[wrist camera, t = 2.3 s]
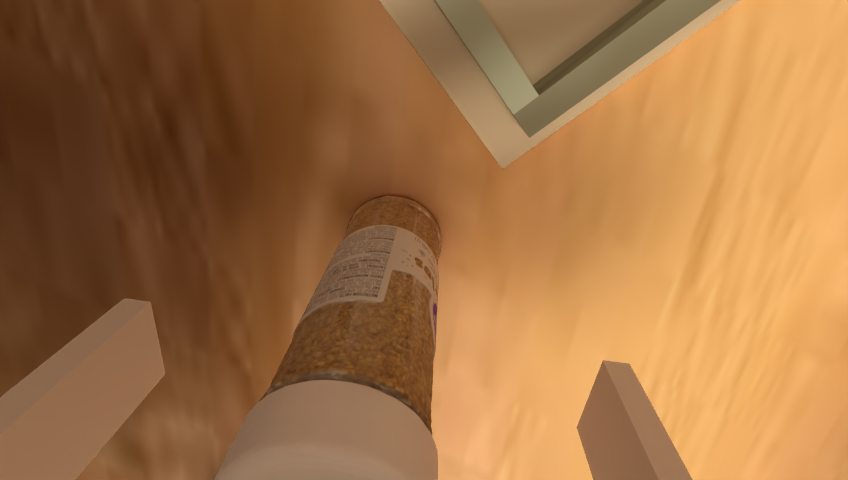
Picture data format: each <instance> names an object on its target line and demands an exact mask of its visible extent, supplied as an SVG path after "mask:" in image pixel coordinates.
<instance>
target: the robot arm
mask: <svg viewBox="0 0 848 480" xmlns="http://www.w3.org/2000/svg"><path fill="white" fill-rule="evenodd" d="M164 375H165V369H164V364H163V359H162V354H161V350H160V345H159V340H158V335H157V330H156V325H155V320H154V316H153V311H152V306H151V302H149V301H142V300H134V299H126V298H124V299H123V300H122V301H120V302H119V303H118V304H117V305H115V306H114V307H113V308H112V309H110V310H109V311H108V312H106V313H105V314H104V315H103V316H101V317H100V318H99V319H98V320H96V321H95V322H94V323H93V324H91V325H90V326H89V327H88V328H86V329H85V330H84V331H83V332H81V333H80V334H79V335H78V336H76V337H75V338H74V339H73V340H71V341H70V342H69V343H68V344H66V345H65V346H64V347H63V348H61V349H60V350H59V351H58V352H56V353H55V354H54V355H53V356H51V357H50V358H49V359H48V360H46V361H45V362H44V363H43V364H41V365H40V366H39V367H38V368H36V369H35V370H34V371H33V372H31V373H30V374H29V375H28V376H26V377H25V378H24V379H23V380H21V381H20V382H19V383H18V384H16V385H15V386H14V387H13V388H11V389H10V390H9V391H8V392H6V393H5V394H4V395H2V396H1V397H0V480H76V478H77V477H78V476H79V475H80V474H81V472H82V471H83V470H84V469H85V468H86V467H87V465H88V464H89V463H90V462H91V461H92V460H93V458H94V457H95V456H96V455H97V454H98V452H99V451H100V450H101V449H102V448H103V447H104V445H105V444H106V443H107V442H108V441H109V440H110V438H111V437H112V436H113V435H114V434H115V432H116V431H117V430H118V429H119V428H120V427H121V425H122V424H123V423H124V422H125V421H126V420H127V418H128V417H129V416H130V415H131V414H132V412H133V411H134V410H135V409H136V408H137V407H138V405H139V404H140V403H141V402H142V401H143V400H144V398H145V397H146V396H147V395H148V394H149V392H150V391H151V390H152V389H153V388H154V387H155V385H156V384H157V383H158V382H159V381H160V380H161V378H162V377H163V376H164ZM577 429H578V433H579V436H580V439H581V442H582V445H583V448H584V451H585V454H586V458H587V461H588V464H589V467H590V470H591V473H592V476H593V479H594V480H692V478H691V476H690V474H689V472H688V471H687V469H686V467H685V465H684V463H683V461H682V460H681V458H680V456H679V454H678V452H677V450H676V448H675V447H674V445H673V443H672V441H671V439H670V437H669V436H668V434H667V432H666V430H665V428H664V426H663V425H662V423H661V421H660V419H659V417H658V415H657V414H656V412H655V410H654V408H653V406H652V404H651V402H650V401H649V399H648V397H647V395H646V393H645V391H644V390H643V388H642V386H641V384H640V382H639V380H638V379H637V377H636V375H635V373H634V371H633V369H632V368H631V366H630V364H627V363H619V362H611V361H604V360H603V362H602V364H601V367H600V369H599V372H598V375H597V377H596V380H595V382H594V385H593V387H592V390H591V392H590V395H589V398H588V400H587V403H586V405H585V408H584V410H583V413H582V416H581V418H580V421H579V423H578V426H577Z"/></svg>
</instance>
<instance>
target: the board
mask: <svg viewBox="0 0 848 480" xmlns="http://www.w3.org/2000/svg"><path fill="white" fill-rule="evenodd" d="M379 1H380V3H381V4H382V5H383V7H384V8H385V9H386V11H387V12H388V14H389V15H390V16H391V18H392V19H393V20H394V22H395V23H396V24H397V26H398V27H399V29H400V30H401V31H402V33H403V34H404V35H405V37H406V38H407V39H408V41H409V42H410V44H411V45H412V46H413V48H414V49H415V50H416V52H417V53H418V55H419V56H420V57H421V59H422V60H423V61H424V63H425V64H426V65H427V67H428V68H429V70H430V71H431V72H432V74H433V75H434V76H435V78H436V79H437V80H438V82H439V83H440V85H441V86H442V87H443V89H444V90H445V91H446V93H447V94H448V96H449V97H450V98H451V100H452V101H453V102H454V104H455V105H456V106H457V108H458V109H459V111H460V112H461V113H462V115H463V116H464V117H465V119H466V120H467V121H468V123H469V124H470V126H471V127H472V128H473V130H474V131H475V132H476V134H477V135H478V137H479V138H480V139H481V141H482V142H483V143H484V145H485V146H486V147H487V149H488V150H489V152H490V153H491V154H492V156H493V157H494V158H495V160H496V161H497V162H498V164H499V165H500V167H501V168H502V169H503V168H505V167H506V166H508V165H509V164H510V163H512V162H513V161H515V160H516V159H517V158H519V157H520V156H522V155H523V154H525V153H526V152H527V151H529V150H530V149H532V148H533V147H534V146H536V145H537V144H539V143H540V142H541V141H543V140H544V139H546V138H547V137H549V136H550V135H551V134H553V133H554V132H556V131H557V130H558V129H560V128H561V127H563V126H564V125H565V124H567V123H568V122H570V121H571V120H572V119H574V118H575V117H577V116H578V115H580V114H581V113H582V112H584V111H585V110H587V109H588V108H589V107H591V106H592V105H594V104H595V103H596V102H598V101H599V100H601V99H602V98H604V97H605V96H606V95H608V94H609V93H611V92H612V91H613V90H615V89H616V88H618V87H619V86H620V85H622V84H623V83H625V82H626V81H627V80H629V79H630V78H632V77H633V76H635V75H636V74H637V73H639V72H640V71H642V70H643V69H644V68H646V67H647V66H649V65H650V64H651V63H653V62H654V61H656V60H657V59H659V58H660V57H661V56H663V55H664V54H666V53H667V52H668V51H670V50H671V49H673V48H674V47H675V46H677V45H678V44H680V43H681V42H682V41H684V40H685V39H687V38H688V37H690V36H691V35H692V34H694V33H695V32H697V31H698V30H699V29H701V28H702V27H704V26H705V25H706V24H708V23H709V22H711V21H712V20H714V19H715V18H716V17H718V16H719V15H721V14H722V13H723V12H725V11H726V10H728V9H729V8H730V7H732V6H733V5H735V4H736V3H737V2H739V1H740V0H379Z"/></svg>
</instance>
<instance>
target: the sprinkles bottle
mask: <svg viewBox="0 0 848 480" xmlns="http://www.w3.org/2000/svg"><path fill="white" fill-rule="evenodd" d="M440 252H441V233H440V230H439V227H438V224H437V222H436V221H435V219H434V218H433V216H432V215H431V214H430V213H429V211H428V210H427V209H426V208H424V207H423V206H421V205H420V204H419V203H417V202H415V201H412V200H409V199H407V198H403V197H399V196H388V195H387V196H383V197H380V198H375V199H373V200H371V201H369V202H366V203H365V204H363V205H362V206H361V207H360V208H359V209H358V210H356V212H355V213H354V215H353V217H352V218H351V220H350V222H349V224H348V228H347V232H346V236H345V238H344V240H343V241H342V242H341V244H340V245H339V246H338V248H337V250H336V252H335V253H334V255H333V257H332V259H331V261H330V263H329V265H328V267H327V269H326V271H325V273H324V275H323V277H322V279H321V281H320V282H319V284H318V286H317V288H316V290H315V292H314V294H313V296H312V298H311V300H310V302H309V304H308V306H307V308H306V310H305V312H304V314H303V316H302V318H301V320H300V322H299V324H298V326H297V328H296V330H295V332H294V335H293V339H292V343H291V345H290V347H289V349H288V351H287V353H286V354H285V356H284V358H283V360H282V362H281V364H280V366H279V369H278V371H277V373H276V375H275V377H274V378H273V381H272V383H271V386H270V388H269V389H268V390H267V392H266V393H265V394H264V396H263V397H262V398H261V399H260V400H259V402H258V403H257V404H256V405H255V406H254V407H253V408H252V409H251V410H250V412H249V413H248V414H247V416H246V418H245V420H244V421H243V423H242V425H241V427H240V429H239V430H238V432H237V434H236V436H235V438H234V440H233V442H232V444H231V446H230V448H229V450H228V452H227V454H226V456H225V458H224V460H223V462H222V464H221V466H220V468H219V470H218V473H217V475H216V477H215V479H214V480H438V455H437V448H436V445H435V442H434V440H433V437H432V429H431V400H432V383H433V360H434V356H435V351H436V321H437V301H438V284H439V272H438V257H439V255H440Z"/></svg>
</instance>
